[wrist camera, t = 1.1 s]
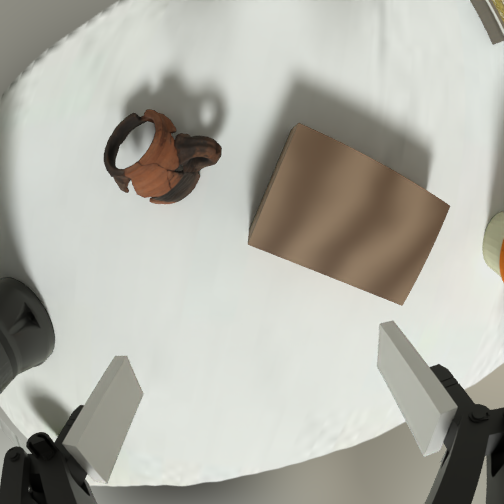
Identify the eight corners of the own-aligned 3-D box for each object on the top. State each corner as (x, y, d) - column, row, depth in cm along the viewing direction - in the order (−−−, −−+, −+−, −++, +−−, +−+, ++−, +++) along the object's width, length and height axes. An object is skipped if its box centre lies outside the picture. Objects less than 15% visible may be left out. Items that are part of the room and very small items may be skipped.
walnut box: (249, 230, 34) (247, 244, 28) (290, 130, 31) (298, 122, 25) (382, 285, 36) (402, 305, 30) (423, 198, 33) (450, 205, 27)
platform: (478, -20, 21) (498, -33, 15) (524, 73, 26) (550, 69, 20) (431, -27, 23) (451, -45, 16) (485, 77, 27) (513, 70, 21)
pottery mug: (141, 216, 34) (91, 195, 26) (147, 145, 36) (105, 115, 28) (237, 199, 30) (198, 167, 23) (236, 121, 32) (203, 77, 24)
